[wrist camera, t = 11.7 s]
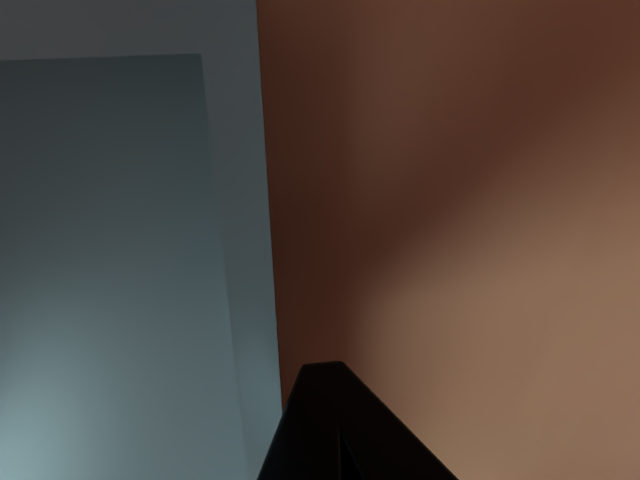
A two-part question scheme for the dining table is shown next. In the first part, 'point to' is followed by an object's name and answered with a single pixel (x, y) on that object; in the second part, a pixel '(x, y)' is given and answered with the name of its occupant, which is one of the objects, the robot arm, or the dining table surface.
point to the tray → (134, 242)
